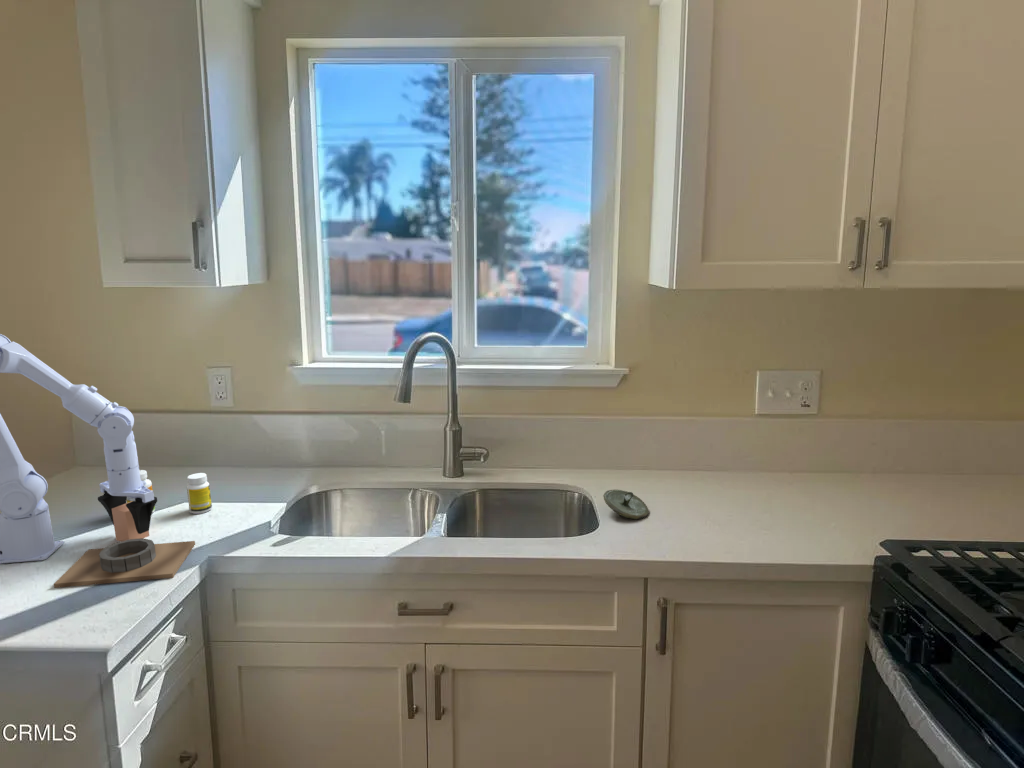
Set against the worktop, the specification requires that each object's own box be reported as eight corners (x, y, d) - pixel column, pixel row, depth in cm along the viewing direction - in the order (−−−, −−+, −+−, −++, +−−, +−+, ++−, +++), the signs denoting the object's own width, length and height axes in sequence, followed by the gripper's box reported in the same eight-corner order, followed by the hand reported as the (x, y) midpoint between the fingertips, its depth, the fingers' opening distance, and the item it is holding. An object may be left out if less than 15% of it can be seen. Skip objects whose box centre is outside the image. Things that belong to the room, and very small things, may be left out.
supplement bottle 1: (149, 506, 157) (143, 467, 155) (159, 512, 154) (154, 471, 152) (124, 513, 153) (118, 473, 151) (134, 519, 150) (128, 478, 148)
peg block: (116, 540, 140) (111, 508, 138) (135, 532, 144) (131, 501, 142) (129, 544, 138) (125, 512, 136) (149, 535, 142) (145, 504, 140)
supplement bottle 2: (215, 509, 155) (211, 475, 153) (194, 516, 152) (190, 480, 150) (206, 504, 158) (202, 470, 156) (186, 510, 155) (182, 476, 153)
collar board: (54, 587, 120) (51, 571, 120) (89, 553, 134) (86, 537, 133) (173, 577, 124) (170, 561, 123) (195, 544, 137) (193, 529, 136)
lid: (614, 500, 157) (614, 480, 156) (654, 508, 152) (655, 487, 151) (595, 516, 148) (596, 495, 147) (638, 525, 143) (639, 503, 142)
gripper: (163, 465, 138) (171, 527, 141) (119, 456, 144) (127, 515, 147) (131, 476, 132) (140, 540, 134) (86, 466, 138) (95, 528, 141)
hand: (131, 528), depth 140 cm, fingers open, 7 cm apart
